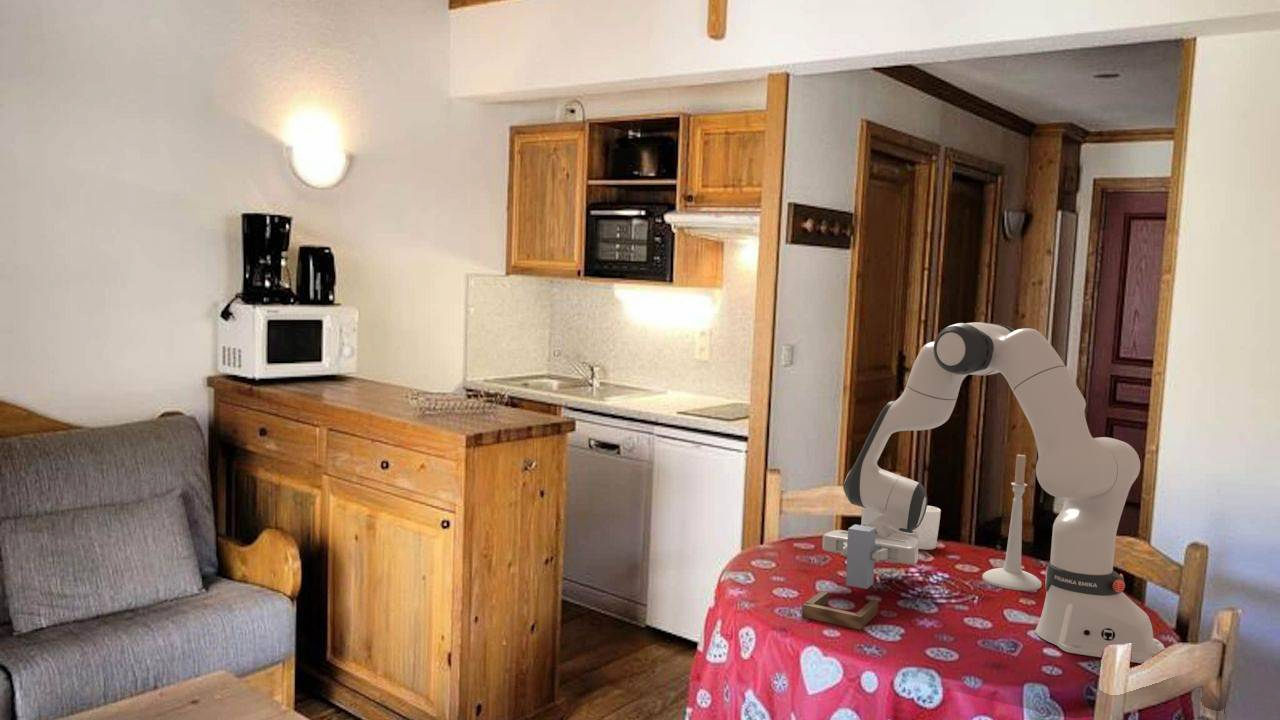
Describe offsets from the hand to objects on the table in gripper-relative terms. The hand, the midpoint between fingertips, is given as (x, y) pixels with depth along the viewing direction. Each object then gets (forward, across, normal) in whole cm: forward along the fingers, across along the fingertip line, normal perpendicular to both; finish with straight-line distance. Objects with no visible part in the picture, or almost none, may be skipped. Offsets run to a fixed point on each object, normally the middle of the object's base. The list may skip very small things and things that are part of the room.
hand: (859, 554), depth 205 cm
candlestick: (-38, +24, +11) cm, 47 cm away
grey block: (-1, 0, +7) cm, 7 cm away
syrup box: (-51, -13, +10) cm, 54 cm away
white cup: (-56, -1, +10) cm, 57 cm away
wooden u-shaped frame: (+9, -1, +10) cm, 14 cm away
